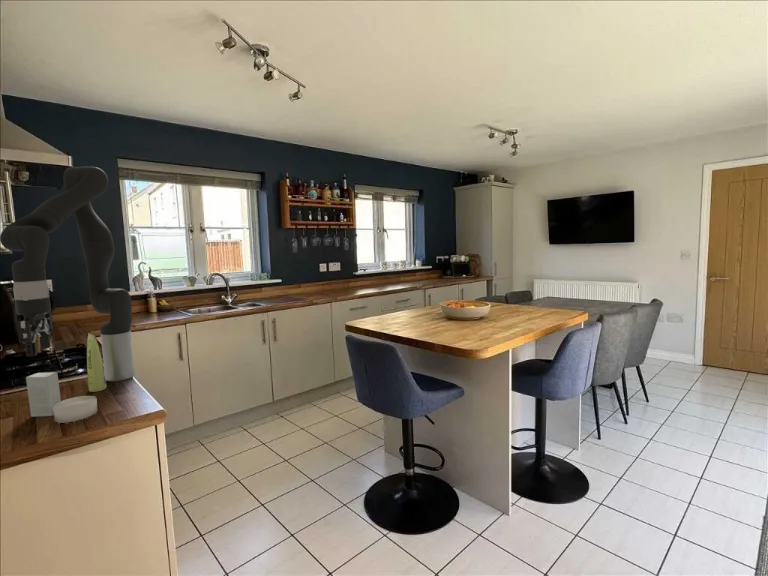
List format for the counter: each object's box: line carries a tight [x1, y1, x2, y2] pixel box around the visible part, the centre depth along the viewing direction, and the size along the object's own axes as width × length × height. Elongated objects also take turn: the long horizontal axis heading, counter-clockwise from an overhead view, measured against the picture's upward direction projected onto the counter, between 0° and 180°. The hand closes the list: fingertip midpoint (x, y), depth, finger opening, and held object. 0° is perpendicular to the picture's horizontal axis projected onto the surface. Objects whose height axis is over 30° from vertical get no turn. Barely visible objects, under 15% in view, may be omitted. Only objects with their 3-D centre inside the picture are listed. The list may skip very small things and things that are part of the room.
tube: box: [86, 332, 108, 393], centre depth 135 cm, size 6×5×20 cm
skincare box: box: [25, 371, 62, 418], centre depth 117 cm, size 6×4×12 cm
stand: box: [53, 395, 99, 424], centre depth 116 cm, size 10×10×4 cm
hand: (39, 352), depth 115 cm, fingers open, 8 cm apart
